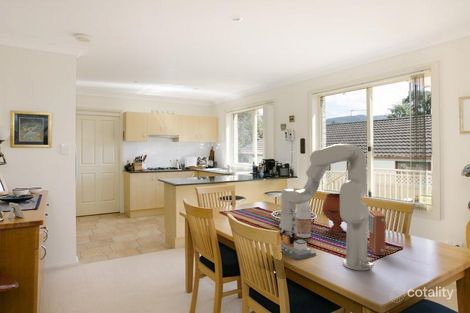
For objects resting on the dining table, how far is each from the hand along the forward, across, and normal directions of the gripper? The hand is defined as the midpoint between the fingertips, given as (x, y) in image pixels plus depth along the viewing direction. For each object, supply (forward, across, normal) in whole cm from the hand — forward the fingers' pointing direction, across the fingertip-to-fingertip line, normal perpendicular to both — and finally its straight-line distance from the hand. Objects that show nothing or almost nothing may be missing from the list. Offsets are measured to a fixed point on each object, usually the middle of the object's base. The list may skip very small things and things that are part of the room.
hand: (288, 241), depth 171 cm
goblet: (+4, +14, -53) cm, 55 cm away
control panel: (+4, -26, -41) cm, 49 cm away
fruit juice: (+4, +14, -24) cm, 28 cm away
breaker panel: (+4, -4, 0) cm, 6 cm away
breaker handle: (+2, -11, 0) cm, 11 cm away
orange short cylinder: (+3, 0, 0) cm, 3 cm away
